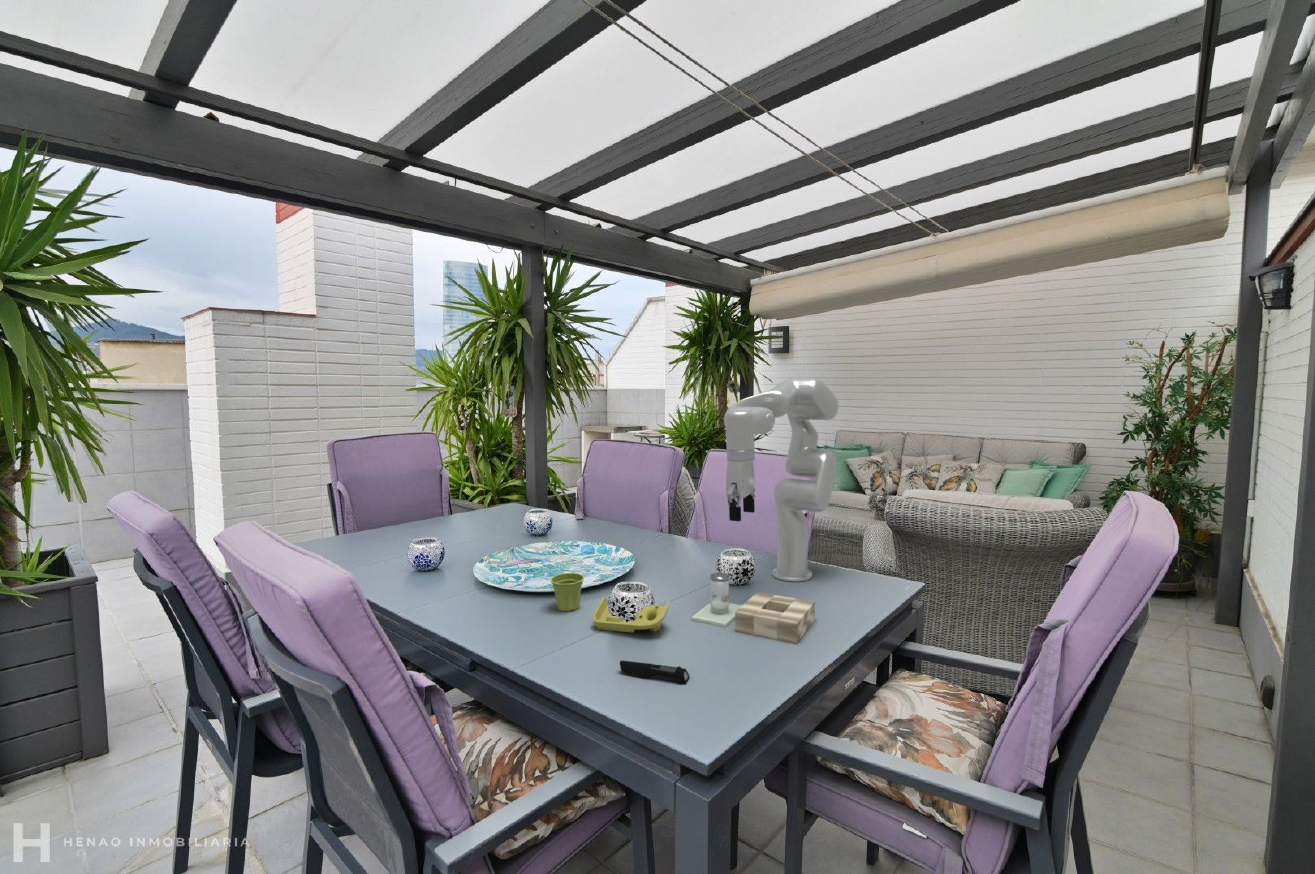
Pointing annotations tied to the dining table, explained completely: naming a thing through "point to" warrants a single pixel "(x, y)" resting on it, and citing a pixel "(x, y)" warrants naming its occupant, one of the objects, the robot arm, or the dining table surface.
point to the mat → (714, 619)
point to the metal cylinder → (719, 593)
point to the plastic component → (649, 620)
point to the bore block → (775, 617)
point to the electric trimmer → (655, 671)
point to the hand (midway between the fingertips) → (742, 516)
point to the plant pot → (567, 590)
